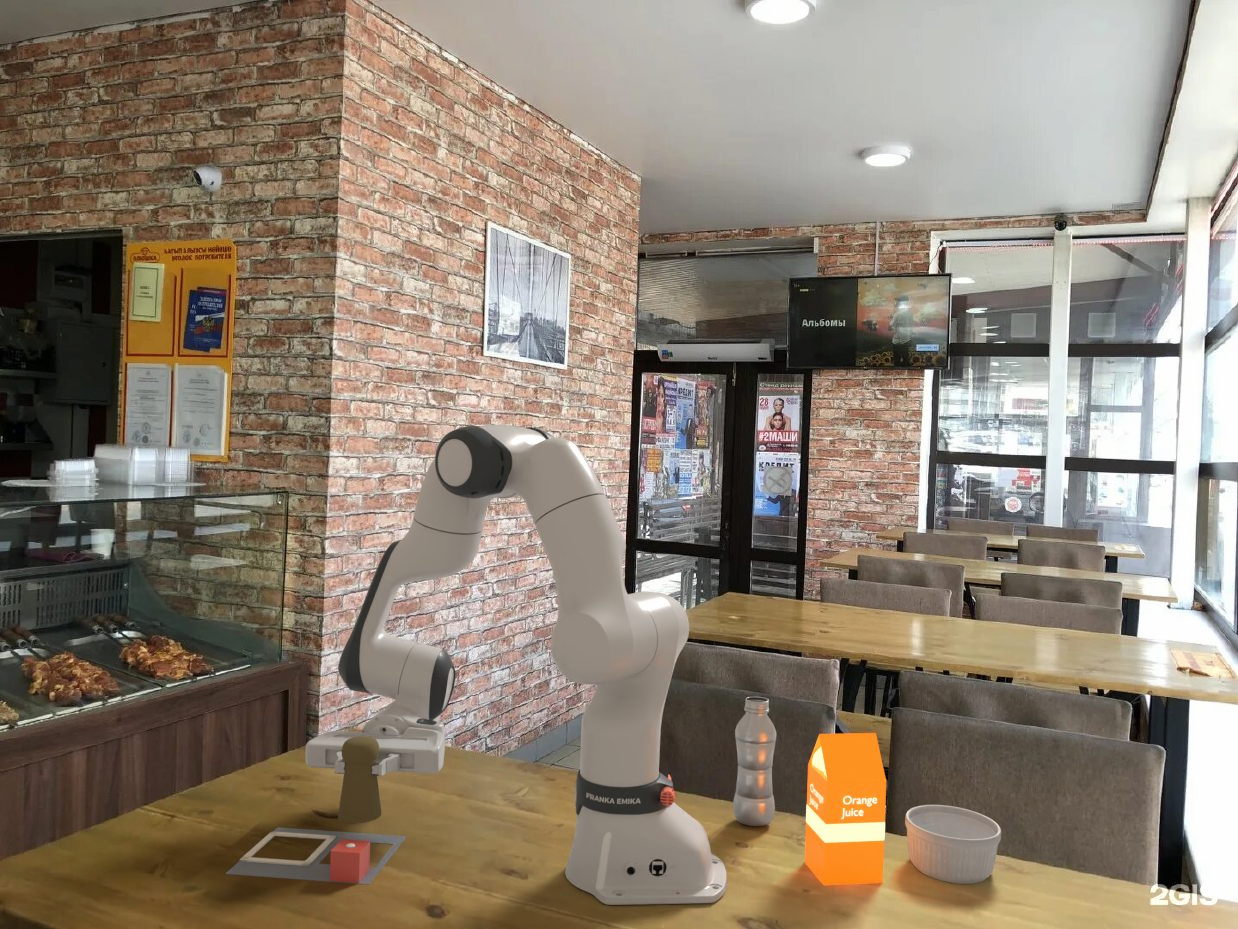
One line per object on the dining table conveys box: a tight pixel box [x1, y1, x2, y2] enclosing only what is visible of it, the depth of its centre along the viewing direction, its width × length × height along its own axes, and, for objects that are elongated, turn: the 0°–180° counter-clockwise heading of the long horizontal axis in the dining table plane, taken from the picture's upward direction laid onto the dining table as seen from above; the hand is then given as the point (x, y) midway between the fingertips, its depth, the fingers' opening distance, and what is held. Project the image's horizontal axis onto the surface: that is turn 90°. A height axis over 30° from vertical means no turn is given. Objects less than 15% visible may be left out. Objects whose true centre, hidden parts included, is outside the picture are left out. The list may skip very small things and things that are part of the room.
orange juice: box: [804, 732, 887, 886], centre depth 140 cm, size 8×9×20 cm
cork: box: [337, 736, 382, 824], centre depth 139 cm, size 6×6×11 cm
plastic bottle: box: [732, 696, 777, 827], centre depth 157 cm, size 6×7×20 cm
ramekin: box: [904, 804, 1002, 885], centre depth 142 cm, size 13×13×7 cm
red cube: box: [329, 839, 371, 883], centre depth 132 cm, size 4×4×4 cm
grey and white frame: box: [224, 827, 407, 886], centre depth 139 cm, size 20×16×1 cm
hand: (358, 769), depth 138 cm, fingers closed on cork, 4 cm apart
